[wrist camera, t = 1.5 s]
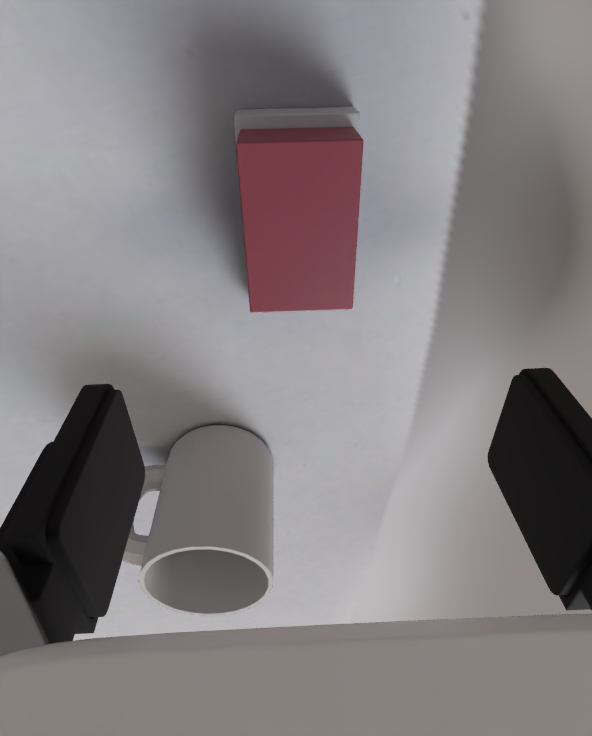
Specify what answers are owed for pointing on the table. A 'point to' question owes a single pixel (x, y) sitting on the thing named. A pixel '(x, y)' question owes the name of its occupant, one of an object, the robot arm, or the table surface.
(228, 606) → the cup
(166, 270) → the table surface
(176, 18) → the table surface
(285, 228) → the maroon block on base
